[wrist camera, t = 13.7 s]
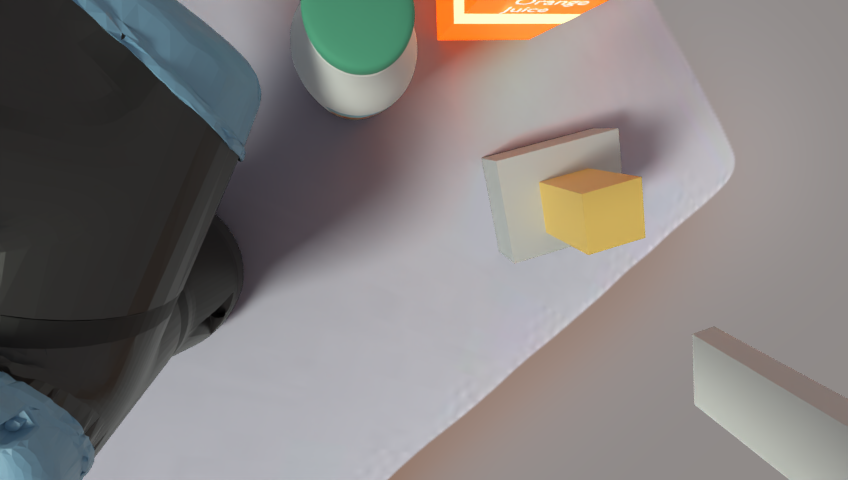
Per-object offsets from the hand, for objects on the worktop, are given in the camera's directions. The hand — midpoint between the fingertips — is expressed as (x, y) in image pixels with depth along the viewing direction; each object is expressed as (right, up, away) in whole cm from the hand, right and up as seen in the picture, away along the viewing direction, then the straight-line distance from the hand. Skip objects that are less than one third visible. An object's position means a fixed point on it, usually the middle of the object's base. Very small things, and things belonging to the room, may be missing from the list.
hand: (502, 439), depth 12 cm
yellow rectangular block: (+11, +10, +25) cm, 29 cm away
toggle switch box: (+10, +11, +29) cm, 33 cm away
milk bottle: (-9, +21, +23) cm, 32 cm away
